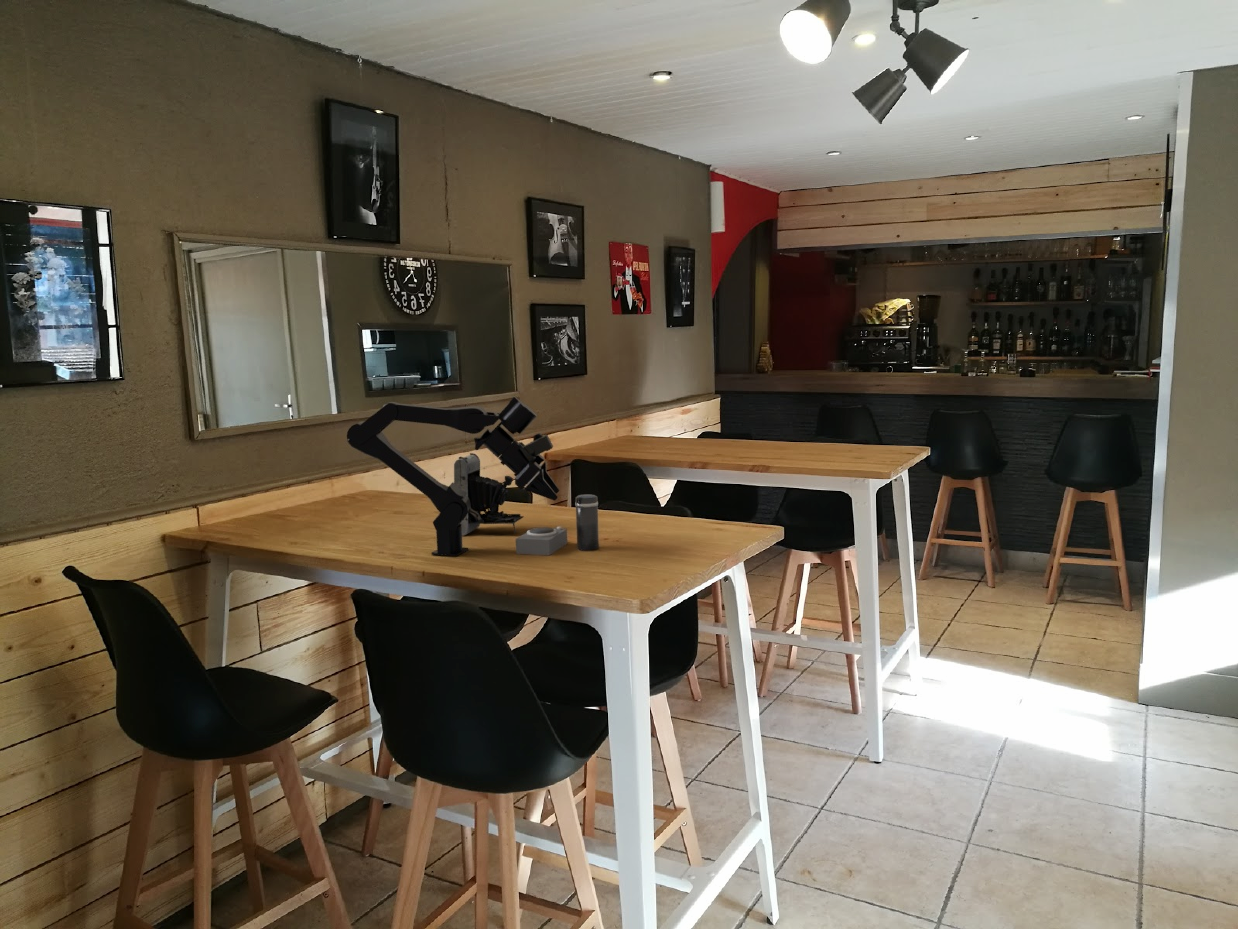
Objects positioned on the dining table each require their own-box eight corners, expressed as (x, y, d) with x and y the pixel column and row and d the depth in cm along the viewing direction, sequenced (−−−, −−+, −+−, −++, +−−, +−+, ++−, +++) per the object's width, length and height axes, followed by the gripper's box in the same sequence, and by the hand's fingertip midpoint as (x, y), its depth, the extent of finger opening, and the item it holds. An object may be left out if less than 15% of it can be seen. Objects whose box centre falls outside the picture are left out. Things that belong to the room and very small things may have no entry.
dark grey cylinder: (595, 551, 202) (593, 498, 200) (573, 550, 203) (571, 497, 202) (602, 546, 207) (600, 494, 205) (581, 545, 208) (579, 493, 207)
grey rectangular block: (549, 555, 199) (548, 536, 199) (516, 553, 202) (515, 534, 201) (567, 543, 211) (566, 525, 210) (535, 542, 213) (535, 524, 212)
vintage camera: (513, 539, 219) (513, 459, 216) (453, 536, 222) (452, 456, 219) (524, 531, 228) (524, 454, 226) (467, 528, 231) (467, 452, 228)
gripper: (527, 427, 192) (580, 476, 193) (533, 419, 210) (582, 464, 212) (492, 464, 192) (545, 513, 194) (501, 453, 211) (550, 498, 213)
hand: (557, 495), depth 203 cm, fingers open, 9 cm apart
